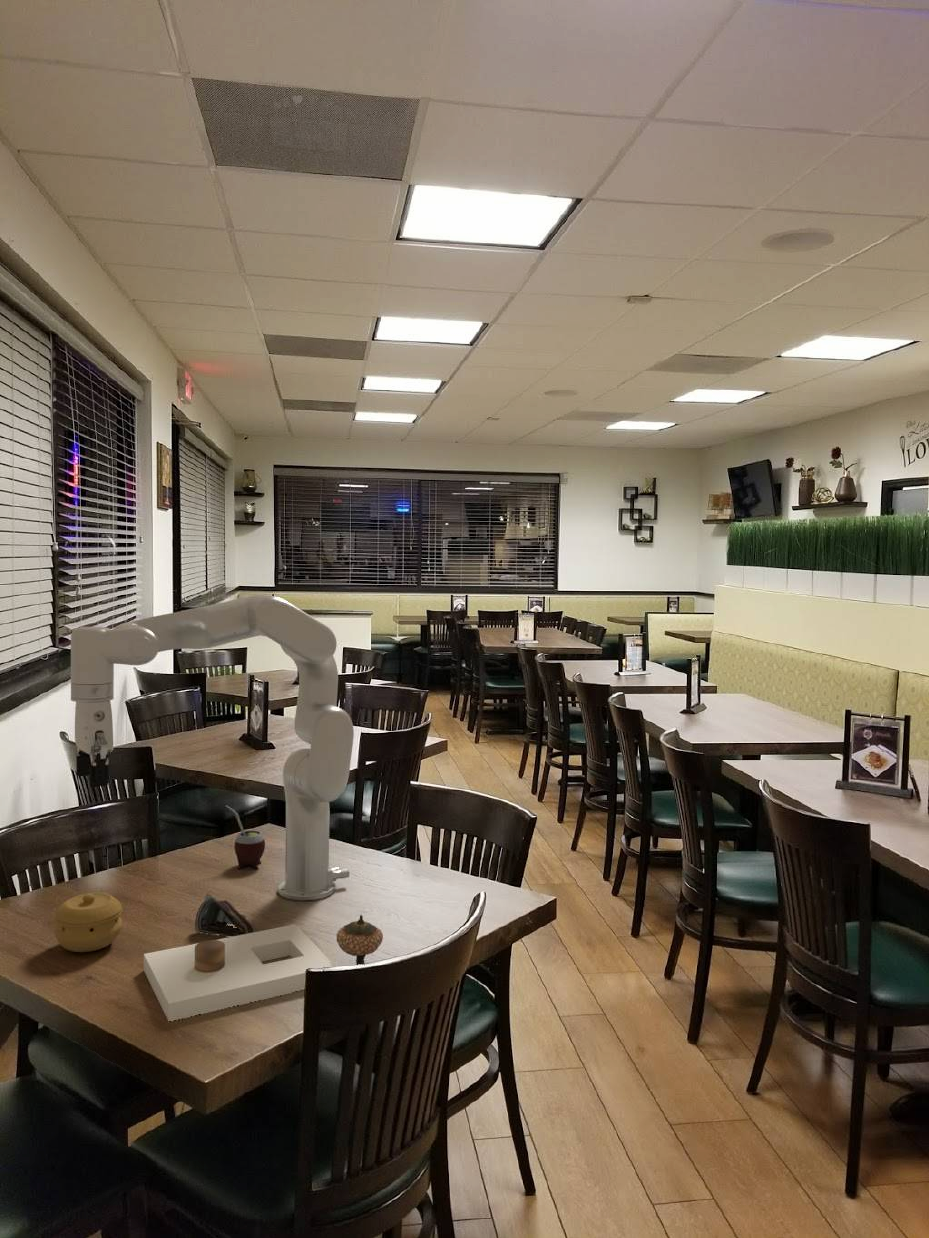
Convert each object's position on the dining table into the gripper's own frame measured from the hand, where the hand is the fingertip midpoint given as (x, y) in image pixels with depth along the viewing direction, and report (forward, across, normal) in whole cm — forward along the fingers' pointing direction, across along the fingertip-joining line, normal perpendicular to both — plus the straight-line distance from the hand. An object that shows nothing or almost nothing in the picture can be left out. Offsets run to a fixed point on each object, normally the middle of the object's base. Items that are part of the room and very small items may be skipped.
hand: (92, 780), depth 169 cm
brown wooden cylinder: (+27, -32, -11) cm, 43 cm away
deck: (+30, -32, -16) cm, 47 cm away
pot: (+31, -5, +2) cm, 31 cm away
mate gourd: (+30, +20, -40) cm, 54 cm away
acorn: (+30, -41, -36) cm, 62 cm away
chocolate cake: (+31, -12, -23) cm, 40 cm away
